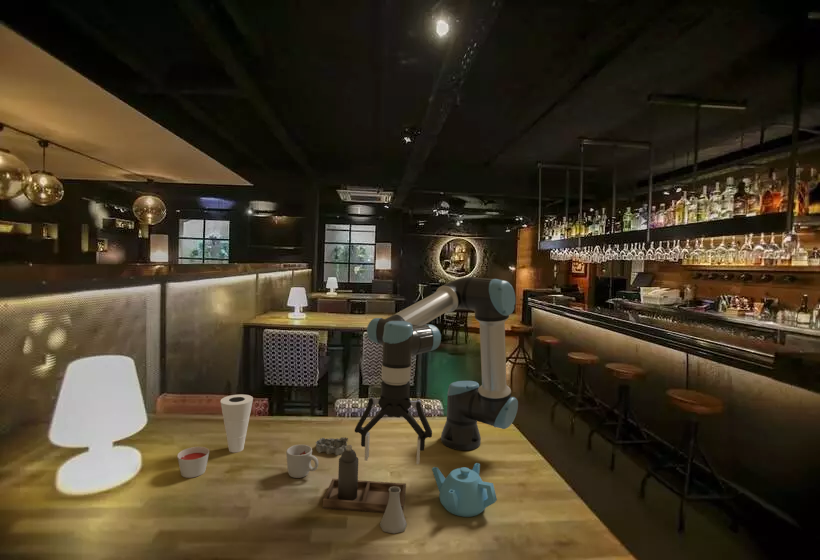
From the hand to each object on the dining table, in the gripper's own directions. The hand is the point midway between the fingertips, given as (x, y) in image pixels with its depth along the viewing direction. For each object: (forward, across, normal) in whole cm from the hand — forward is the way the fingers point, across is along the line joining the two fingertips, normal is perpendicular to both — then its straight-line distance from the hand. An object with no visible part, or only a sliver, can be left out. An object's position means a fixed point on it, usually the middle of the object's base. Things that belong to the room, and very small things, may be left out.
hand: (392, 460), depth 116 cm
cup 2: (+18, +58, -35) cm, 70 cm away
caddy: (+17, +8, -10) cm, 22 cm away
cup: (+18, +30, -21) cm, 41 cm away
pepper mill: (+17, +13, -10) cm, 24 cm away
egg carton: (+18, +25, -40) cm, 50 cm away
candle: (+18, +64, -18) cm, 69 cm away
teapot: (+17, -20, -11) cm, 29 cm away
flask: (+18, -1, +1) cm, 18 cm away
